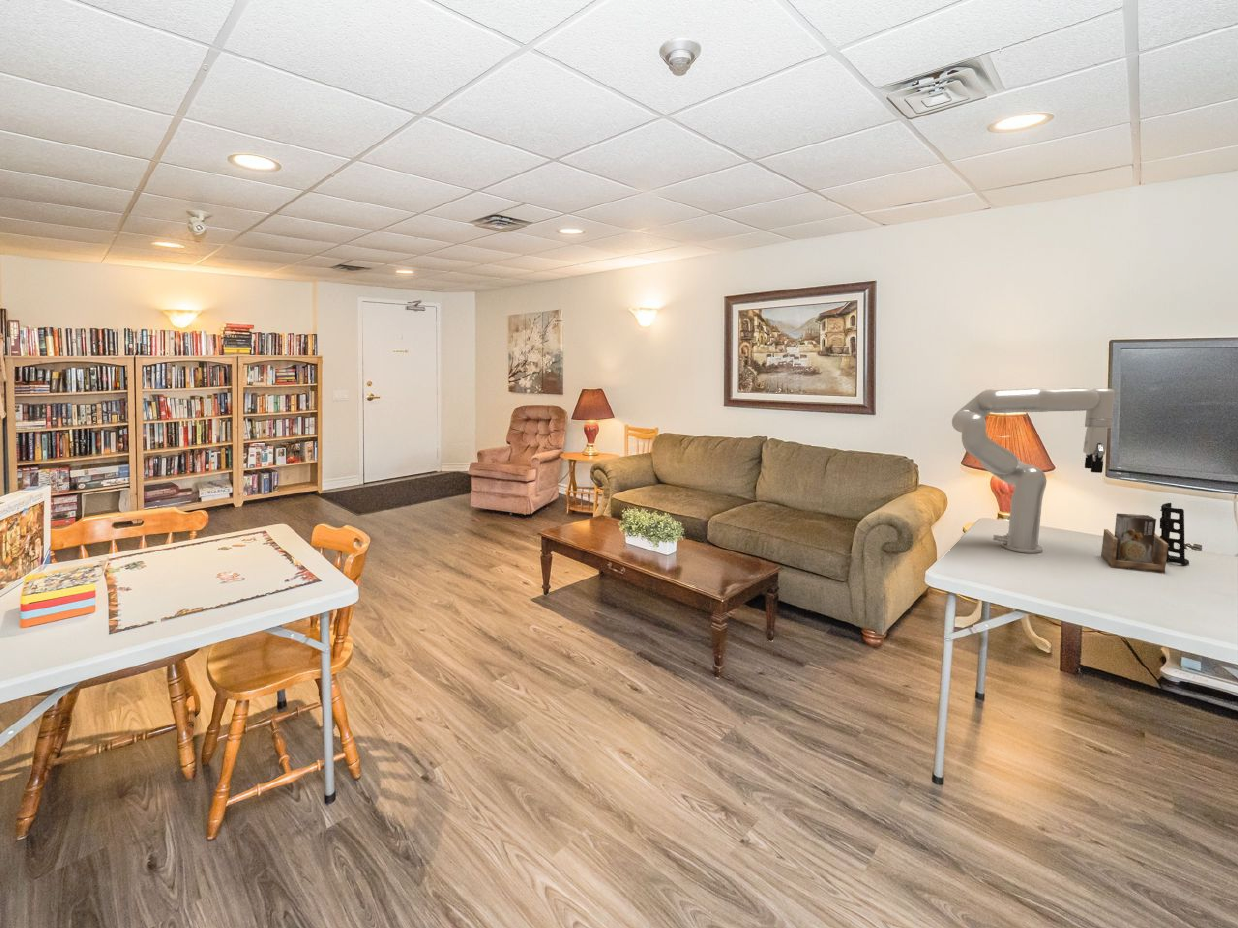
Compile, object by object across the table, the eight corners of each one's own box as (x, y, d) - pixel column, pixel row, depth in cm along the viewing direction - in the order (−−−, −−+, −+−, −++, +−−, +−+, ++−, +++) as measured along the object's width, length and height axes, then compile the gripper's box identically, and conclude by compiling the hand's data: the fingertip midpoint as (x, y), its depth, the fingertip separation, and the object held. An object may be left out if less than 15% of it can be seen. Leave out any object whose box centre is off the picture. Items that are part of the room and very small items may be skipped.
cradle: (1110, 567, 204) (1114, 538, 203) (1101, 555, 217) (1104, 529, 215) (1164, 573, 198) (1168, 543, 197) (1151, 561, 210) (1154, 533, 209)
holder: (1198, 565, 204) (1198, 508, 201) (1172, 566, 205) (1172, 509, 203) (1175, 556, 214) (1175, 501, 212) (1150, 557, 216) (1150, 503, 214)
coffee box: (1144, 560, 208) (1149, 515, 206) (1151, 565, 203) (1157, 519, 200) (1111, 557, 212) (1116, 512, 210) (1117, 562, 206) (1123, 517, 204)
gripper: (1080, 421, 225) (1075, 466, 228) (1090, 425, 210) (1085, 473, 212) (1105, 421, 221) (1100, 467, 224) (1117, 425, 206) (1112, 474, 209)
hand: (1093, 470), depth 218 cm, fingers open, 9 cm apart
